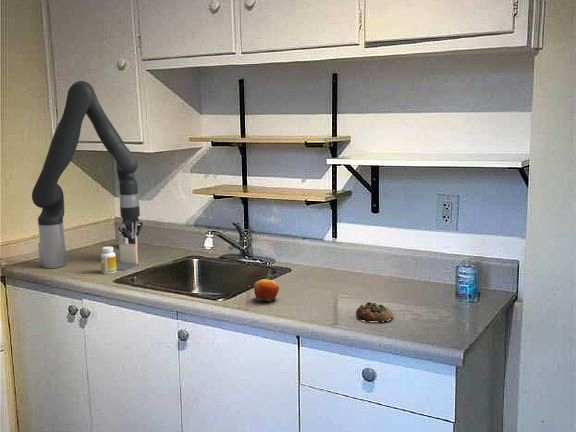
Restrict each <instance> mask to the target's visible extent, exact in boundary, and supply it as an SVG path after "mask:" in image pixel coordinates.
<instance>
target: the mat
mask: <svg viewBox="0 0 576 432" xmlns="http://www.w3.org/2000/svg"><path fill="white" fill-rule="evenodd" d="M139 265H140V264H139V263H138V264H134V263H125V262H120V261H116V268H117V271H123V272H125V271H127V270H130V269H132V268H135V267H137V266H139ZM101 269H102V266H101Z"/></svg>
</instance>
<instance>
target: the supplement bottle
mask: <svg viewBox="0 0 576 432" xmlns="http://www.w3.org/2000/svg"><path fill="white" fill-rule="evenodd" d="M101 250H102V253H101V254H100V262H101V263H100V264H101V267H102V268H101V273H102V274H104V275H110V274H115V273H117V271H118V270H117V268H116V262H117V259H116V257H117V255H116V253H115V252H114V247H113V246H104V247H102V248H101Z"/></svg>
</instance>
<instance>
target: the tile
mask: <svg viewBox="0 0 576 432" xmlns="http://www.w3.org/2000/svg"><path fill="white" fill-rule="evenodd" d="M137 246H138V243H137V244H127V243H119V242H118V250H119V262H125V263H134V264H139V258H138V257H139V256H138V248H137Z"/></svg>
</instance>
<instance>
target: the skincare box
mask: <svg viewBox="0 0 576 432" xmlns="http://www.w3.org/2000/svg"><path fill="white" fill-rule="evenodd" d="M136 233H137V232H136ZM117 234H118V244H119V243H127V244H128V238H124V236H123V235H122V233H121V232H120V231H119V232H118V233H117ZM129 234H130V233H129ZM135 240H136V244H137V249H138V247H139V246H138V236H136V238H135Z"/></svg>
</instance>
